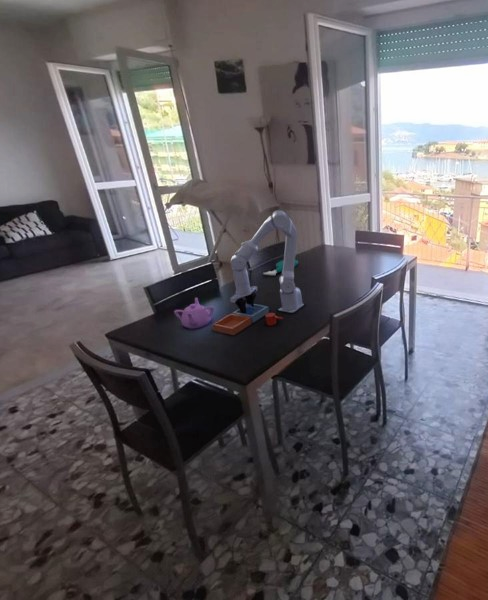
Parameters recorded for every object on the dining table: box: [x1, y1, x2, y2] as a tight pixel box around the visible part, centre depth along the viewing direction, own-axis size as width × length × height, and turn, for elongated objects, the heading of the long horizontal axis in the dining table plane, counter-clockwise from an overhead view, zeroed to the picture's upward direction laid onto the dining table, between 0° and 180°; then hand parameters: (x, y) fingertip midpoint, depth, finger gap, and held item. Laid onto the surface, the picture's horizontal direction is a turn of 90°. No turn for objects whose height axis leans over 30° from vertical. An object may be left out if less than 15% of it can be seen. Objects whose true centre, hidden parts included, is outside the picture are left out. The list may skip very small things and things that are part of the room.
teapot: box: [173, 297, 215, 330], centre depth 150 cm, size 12×14×9 cm
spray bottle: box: [262, 259, 299, 276], centre depth 213 cm, size 3×11×24 cm
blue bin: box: [232, 303, 270, 324], centre depth 157 cm, size 11×11×3 cm
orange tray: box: [211, 313, 253, 336], centre depth 147 cm, size 11×11×3 cm
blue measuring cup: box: [246, 303, 258, 315], centre depth 157 cm, size 8×4×4 cm, turn 68°
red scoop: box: [264, 312, 284, 326], centre depth 149 cm, size 8×4×4 cm, turn 68°
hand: (247, 311), depth 157 cm, fingers closed on blue measuring cup, 4 cm apart
